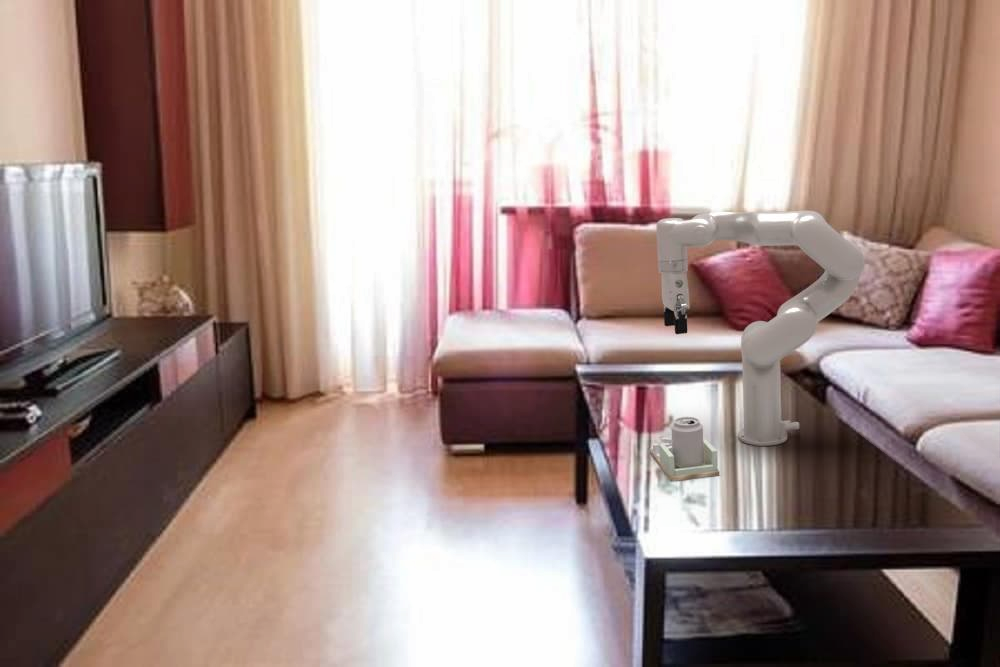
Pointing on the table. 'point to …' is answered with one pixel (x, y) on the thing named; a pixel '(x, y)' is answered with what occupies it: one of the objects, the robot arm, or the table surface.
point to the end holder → (668, 465)
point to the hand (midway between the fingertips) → (675, 329)
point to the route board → (685, 477)
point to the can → (687, 442)
